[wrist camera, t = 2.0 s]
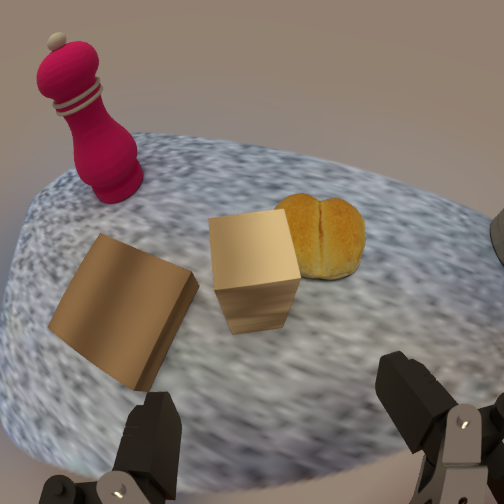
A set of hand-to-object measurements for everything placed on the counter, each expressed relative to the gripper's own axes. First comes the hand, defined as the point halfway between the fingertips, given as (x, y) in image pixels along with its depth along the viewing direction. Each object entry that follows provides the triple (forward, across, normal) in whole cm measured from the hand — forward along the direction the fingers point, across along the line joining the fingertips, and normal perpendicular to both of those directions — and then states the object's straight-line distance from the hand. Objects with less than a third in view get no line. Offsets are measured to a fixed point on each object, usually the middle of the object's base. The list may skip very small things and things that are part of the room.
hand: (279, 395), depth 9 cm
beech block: (+13, 0, +3) cm, 13 cm away
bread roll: (+17, -7, -1) cm, 18 cm away
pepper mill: (+25, +14, -9) cm, 30 cm away
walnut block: (+13, +11, +2) cm, 18 cm away
